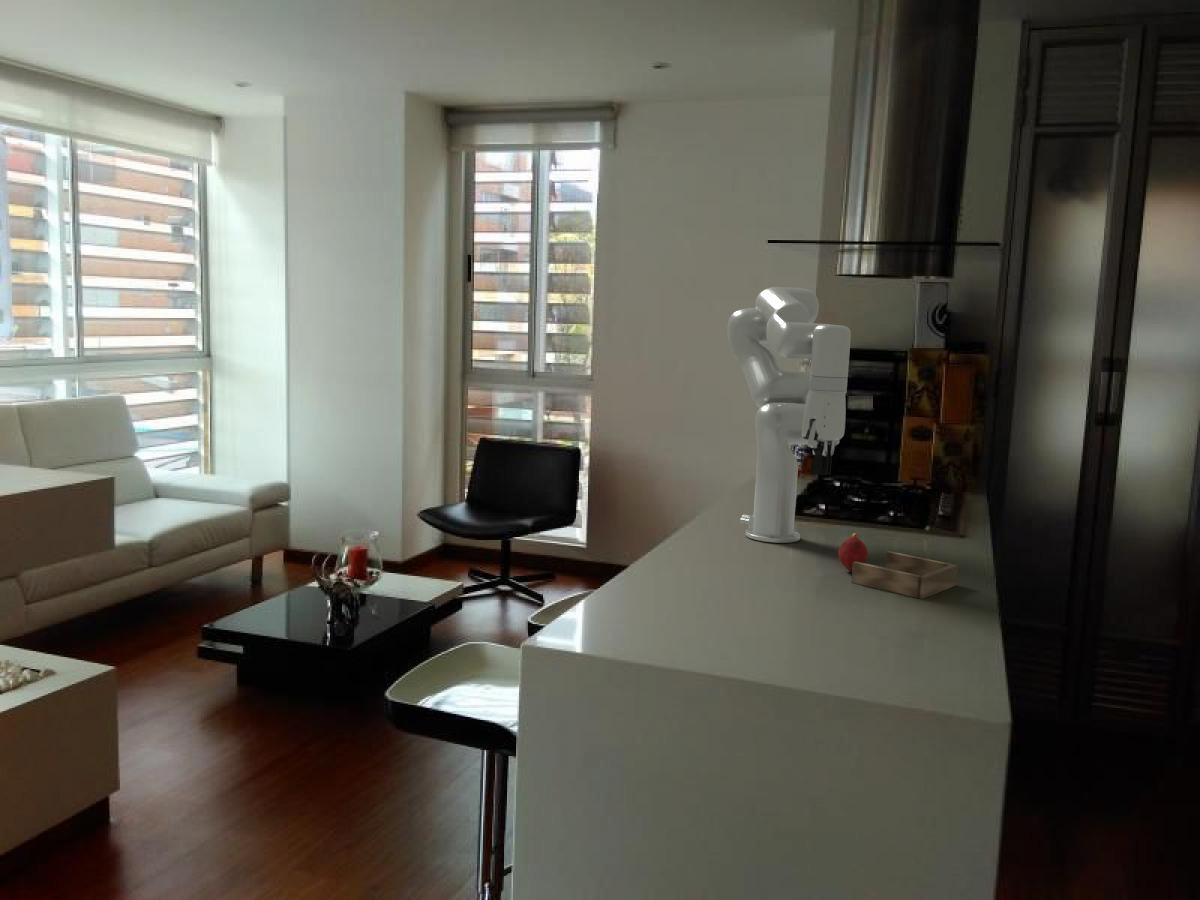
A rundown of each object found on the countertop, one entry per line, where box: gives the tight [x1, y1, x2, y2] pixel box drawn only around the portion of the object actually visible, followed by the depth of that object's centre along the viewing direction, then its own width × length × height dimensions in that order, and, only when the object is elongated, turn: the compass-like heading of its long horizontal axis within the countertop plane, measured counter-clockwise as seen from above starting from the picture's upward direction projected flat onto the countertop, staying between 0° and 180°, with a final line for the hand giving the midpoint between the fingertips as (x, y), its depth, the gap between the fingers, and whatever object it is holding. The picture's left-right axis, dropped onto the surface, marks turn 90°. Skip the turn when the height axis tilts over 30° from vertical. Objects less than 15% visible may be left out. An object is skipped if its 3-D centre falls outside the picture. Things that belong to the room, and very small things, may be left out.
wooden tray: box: [851, 550, 959, 600], centre depth 188 cm, size 15×15×4 cm
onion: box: [838, 533, 869, 573], centre depth 195 cm, size 6×6×8 cm
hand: (821, 473), depth 199 cm, fingers closed
